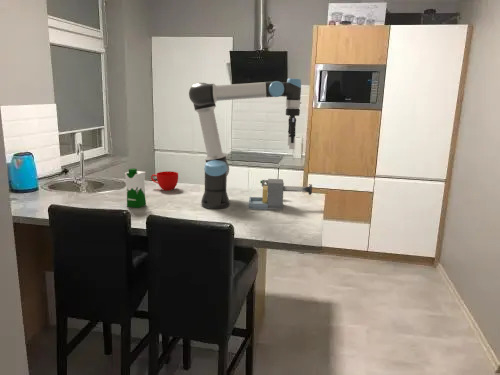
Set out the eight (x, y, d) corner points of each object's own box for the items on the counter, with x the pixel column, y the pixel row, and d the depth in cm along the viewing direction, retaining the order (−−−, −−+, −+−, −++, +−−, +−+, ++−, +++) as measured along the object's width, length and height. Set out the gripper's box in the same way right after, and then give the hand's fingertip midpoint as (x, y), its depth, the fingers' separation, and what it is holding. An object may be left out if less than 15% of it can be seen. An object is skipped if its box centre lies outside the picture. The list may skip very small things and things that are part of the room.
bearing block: (267, 209, 210) (268, 183, 207) (267, 202, 224) (268, 178, 220) (282, 210, 210) (283, 184, 206) (281, 202, 223) (282, 178, 220)
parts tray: (248, 208, 211) (248, 203, 210) (249, 202, 223) (249, 196, 223) (267, 209, 210) (267, 203, 210) (267, 202, 223) (267, 197, 222)
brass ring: (262, 205, 212) (262, 189, 210) (262, 201, 221) (262, 185, 219) (267, 206, 212) (267, 189, 210) (266, 201, 221) (267, 185, 219)
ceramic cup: (155, 186, 254) (155, 170, 252) (181, 187, 252) (181, 171, 249) (147, 190, 241) (147, 174, 239) (174, 192, 239) (174, 176, 237)
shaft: (271, 194, 212) (271, 184, 211) (271, 191, 218) (271, 181, 216) (311, 195, 212) (312, 185, 210) (310, 193, 217) (311, 183, 216)
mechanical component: (277, 198, 232) (277, 181, 229) (259, 197, 234) (260, 180, 231) (277, 197, 235) (278, 180, 232) (260, 196, 237) (261, 179, 234)
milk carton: (124, 206, 208) (122, 169, 203) (134, 202, 216) (133, 166, 212) (138, 208, 205) (137, 170, 200) (148, 204, 214) (147, 167, 209)
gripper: (302, 109, 204) (299, 150, 209) (297, 107, 228) (295, 144, 233) (287, 108, 204) (285, 150, 209) (284, 106, 228) (283, 144, 233)
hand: (290, 147), depth 221 cm, fingers open, 13 cm apart
